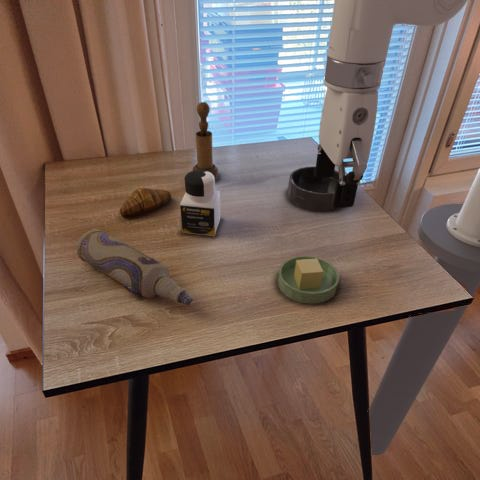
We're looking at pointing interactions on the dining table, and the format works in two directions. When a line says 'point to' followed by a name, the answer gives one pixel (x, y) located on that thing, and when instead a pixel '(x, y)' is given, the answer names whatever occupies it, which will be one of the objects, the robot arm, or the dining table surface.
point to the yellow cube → (308, 274)
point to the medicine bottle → (200, 204)
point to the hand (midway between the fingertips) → (332, 191)
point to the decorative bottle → (129, 267)
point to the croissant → (144, 201)
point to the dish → (310, 295)
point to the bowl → (312, 190)
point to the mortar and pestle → (204, 143)
